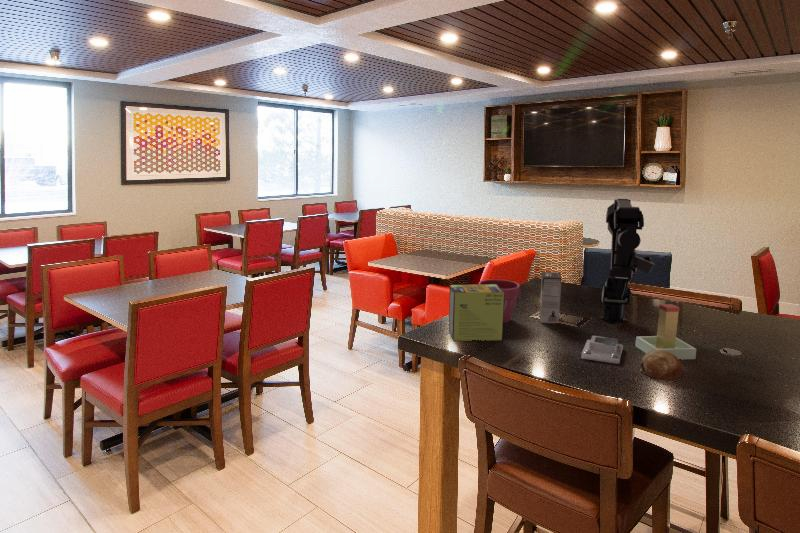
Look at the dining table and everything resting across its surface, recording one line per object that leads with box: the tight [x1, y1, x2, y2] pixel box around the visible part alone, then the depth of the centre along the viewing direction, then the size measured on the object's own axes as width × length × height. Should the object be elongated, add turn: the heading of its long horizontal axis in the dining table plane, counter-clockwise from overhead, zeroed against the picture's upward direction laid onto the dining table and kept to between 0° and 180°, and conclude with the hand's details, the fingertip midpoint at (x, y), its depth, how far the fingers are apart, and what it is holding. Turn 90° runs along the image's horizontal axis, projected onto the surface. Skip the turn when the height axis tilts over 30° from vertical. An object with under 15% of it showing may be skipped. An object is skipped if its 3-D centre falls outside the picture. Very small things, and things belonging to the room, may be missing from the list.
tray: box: [634, 335, 697, 360], centre depth 160 cm, size 12×12×3 cm
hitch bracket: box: [580, 335, 624, 365], centre depth 159 cm, size 13×10×4 cm
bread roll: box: [639, 350, 684, 381], centre depth 145 cm, size 10×10×8 cm
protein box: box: [448, 284, 504, 342], centre depth 173 cm, size 10×15×16 cm
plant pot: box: [478, 278, 521, 324], centre depth 191 cm, size 14×14×13 cm
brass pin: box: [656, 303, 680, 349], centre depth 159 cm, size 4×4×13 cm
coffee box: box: [539, 271, 563, 324], centre depth 190 cm, size 9×6×16 cm
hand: (621, 297), depth 173 cm, fingers open, 9 cm apart
